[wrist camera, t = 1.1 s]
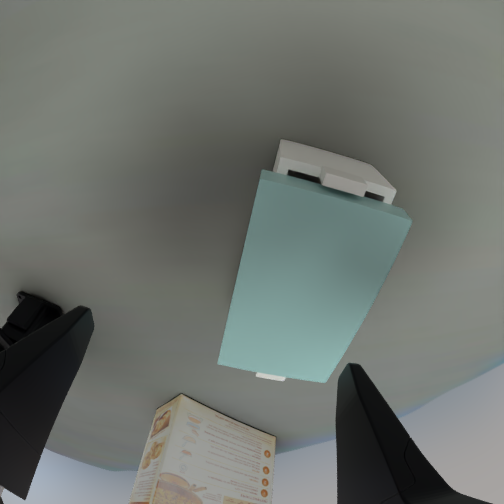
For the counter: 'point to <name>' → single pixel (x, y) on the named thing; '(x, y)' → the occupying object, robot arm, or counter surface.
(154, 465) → the coffeecake box
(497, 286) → the counter surface
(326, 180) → the tub
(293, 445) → the counter surface
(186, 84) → the counter surface
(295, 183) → the lid
